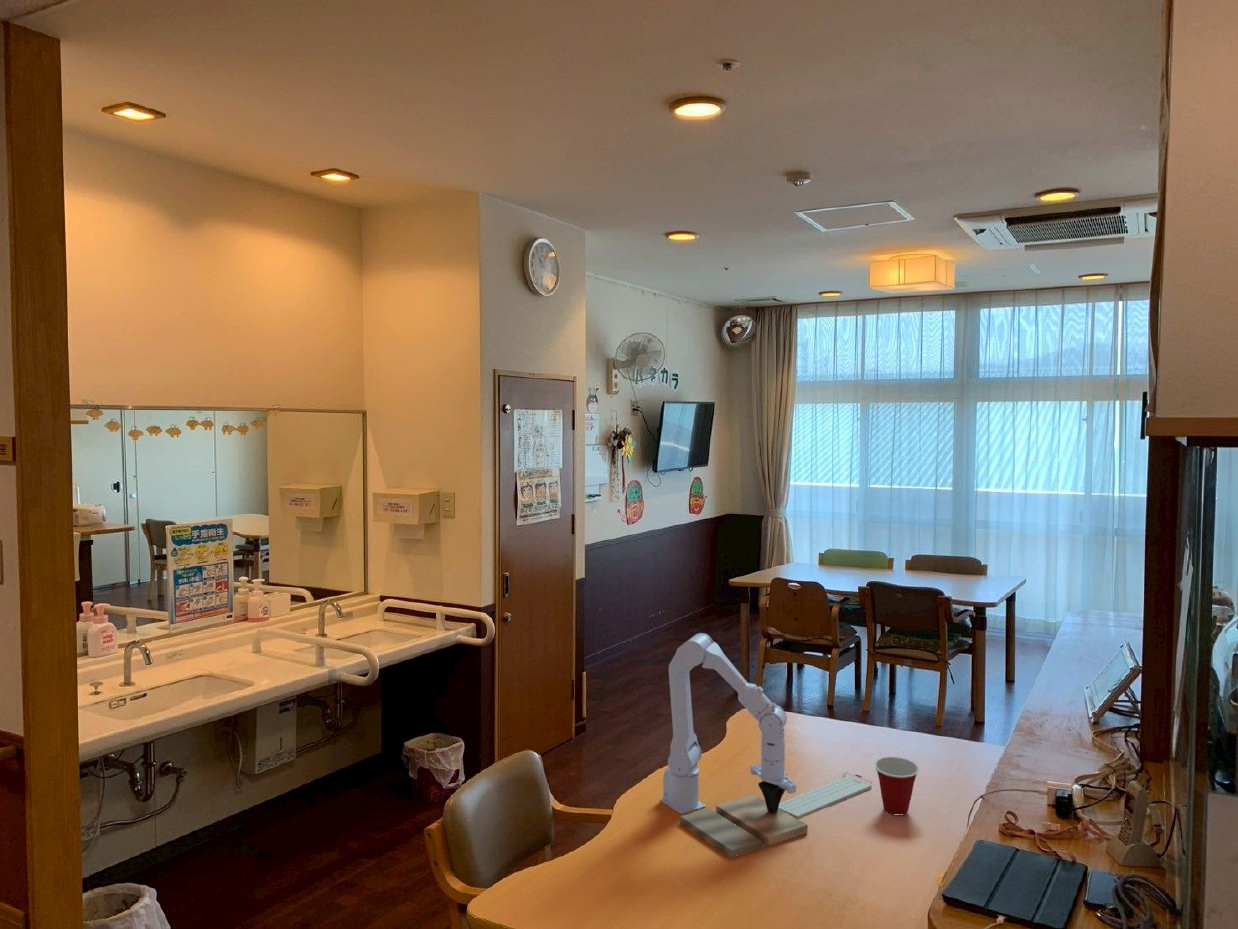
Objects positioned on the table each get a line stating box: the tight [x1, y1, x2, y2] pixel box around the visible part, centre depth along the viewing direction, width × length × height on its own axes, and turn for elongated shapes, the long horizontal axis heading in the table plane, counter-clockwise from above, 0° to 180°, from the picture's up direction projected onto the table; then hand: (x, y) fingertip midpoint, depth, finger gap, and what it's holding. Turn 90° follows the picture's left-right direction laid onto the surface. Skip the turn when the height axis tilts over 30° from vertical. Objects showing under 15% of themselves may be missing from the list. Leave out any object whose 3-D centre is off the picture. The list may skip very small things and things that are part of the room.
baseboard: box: [778, 771, 873, 819], centre depth 236 cm, size 30×3×10 cm
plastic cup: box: [874, 756, 920, 815], centre depth 228 cm, size 11×11×12 cm
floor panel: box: [679, 808, 768, 859], centre depth 214 cm, size 20×10×2 cm, turn 31°
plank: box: [715, 794, 809, 846], centre depth 221 cm, size 20×12×2 cm, turn 31°
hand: (772, 811), depth 222 cm, fingers closed, pressing on plank
